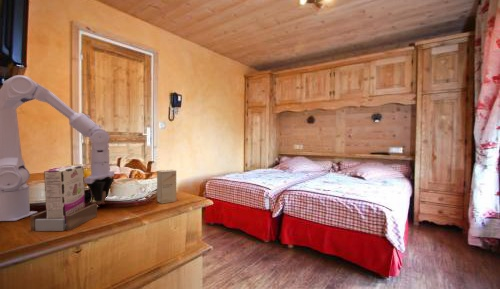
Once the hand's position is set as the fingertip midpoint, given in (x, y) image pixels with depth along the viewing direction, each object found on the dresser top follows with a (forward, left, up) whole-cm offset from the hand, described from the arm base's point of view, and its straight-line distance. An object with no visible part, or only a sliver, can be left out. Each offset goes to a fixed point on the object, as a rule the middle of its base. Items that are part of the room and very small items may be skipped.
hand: (101, 199), depth 88 cm
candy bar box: (0, -17, -3) cm, 17 cm away
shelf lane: (0, -16, -2) cm, 17 cm away
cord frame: (0, -11, -2) cm, 11 cm away
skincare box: (+22, +6, -3) cm, 23 cm away
